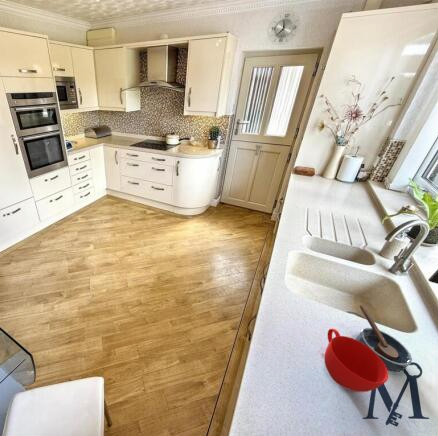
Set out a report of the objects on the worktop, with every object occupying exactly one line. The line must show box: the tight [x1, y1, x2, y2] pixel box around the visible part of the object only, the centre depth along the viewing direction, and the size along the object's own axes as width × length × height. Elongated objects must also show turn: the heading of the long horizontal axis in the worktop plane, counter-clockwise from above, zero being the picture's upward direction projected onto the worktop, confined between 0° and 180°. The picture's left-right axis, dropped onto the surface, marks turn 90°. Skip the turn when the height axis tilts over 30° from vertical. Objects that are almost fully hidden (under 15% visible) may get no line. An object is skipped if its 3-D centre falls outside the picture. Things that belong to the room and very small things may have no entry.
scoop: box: [358, 304, 399, 361], centre depth 78 cm, size 16×5×8 cm, turn 2°
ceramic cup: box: [323, 328, 389, 393], centre depth 69 cm, size 13×17×10 cm
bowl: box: [355, 327, 413, 373], centre depth 75 cm, size 12×12×4 cm
